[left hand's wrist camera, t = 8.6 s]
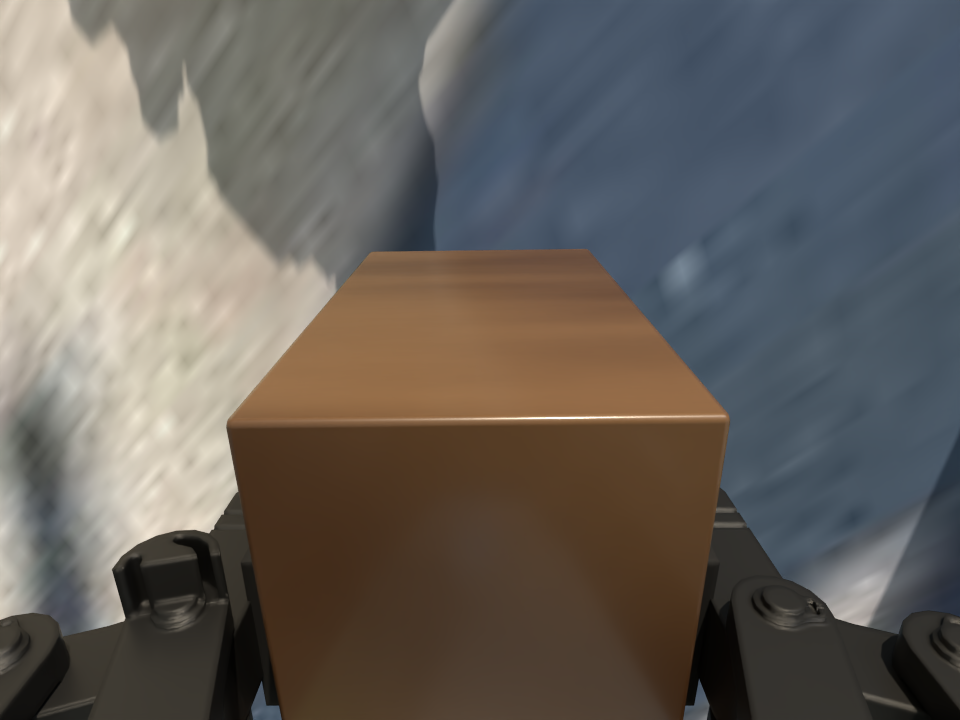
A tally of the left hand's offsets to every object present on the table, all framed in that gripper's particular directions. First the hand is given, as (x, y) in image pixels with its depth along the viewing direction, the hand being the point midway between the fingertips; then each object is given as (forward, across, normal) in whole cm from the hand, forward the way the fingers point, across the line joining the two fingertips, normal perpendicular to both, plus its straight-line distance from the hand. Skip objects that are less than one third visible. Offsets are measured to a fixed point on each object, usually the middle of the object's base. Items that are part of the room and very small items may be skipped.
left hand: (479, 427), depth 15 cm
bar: (+1, 0, -23) cm, 23 cm away
